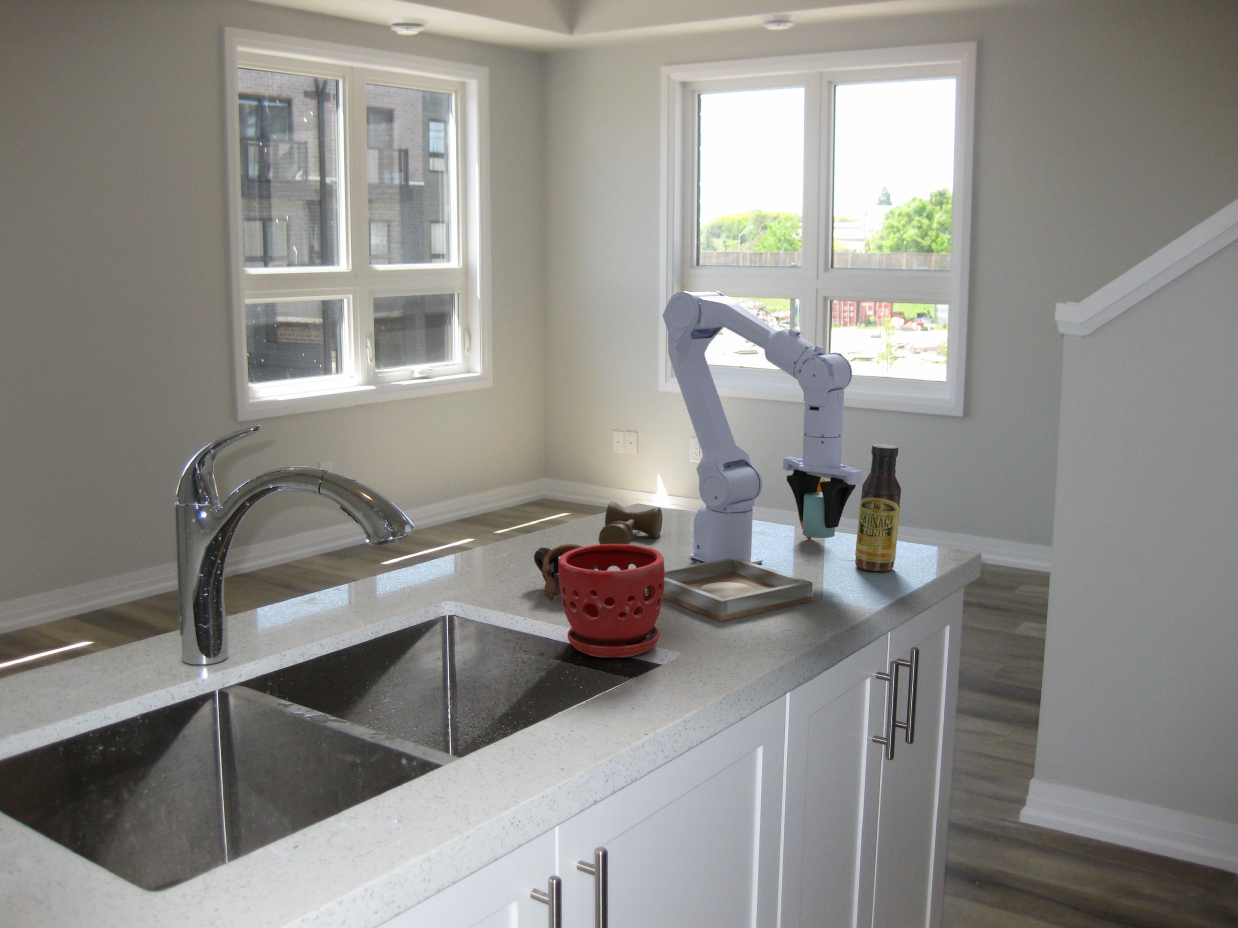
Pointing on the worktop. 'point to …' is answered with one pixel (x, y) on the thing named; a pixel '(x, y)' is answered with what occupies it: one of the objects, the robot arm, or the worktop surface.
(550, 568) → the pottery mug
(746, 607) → the corral
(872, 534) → the sauce bottle
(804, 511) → the teal cylinder
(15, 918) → the worktop surface
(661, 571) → the plant pot
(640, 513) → the kendama
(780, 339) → the robot arm
